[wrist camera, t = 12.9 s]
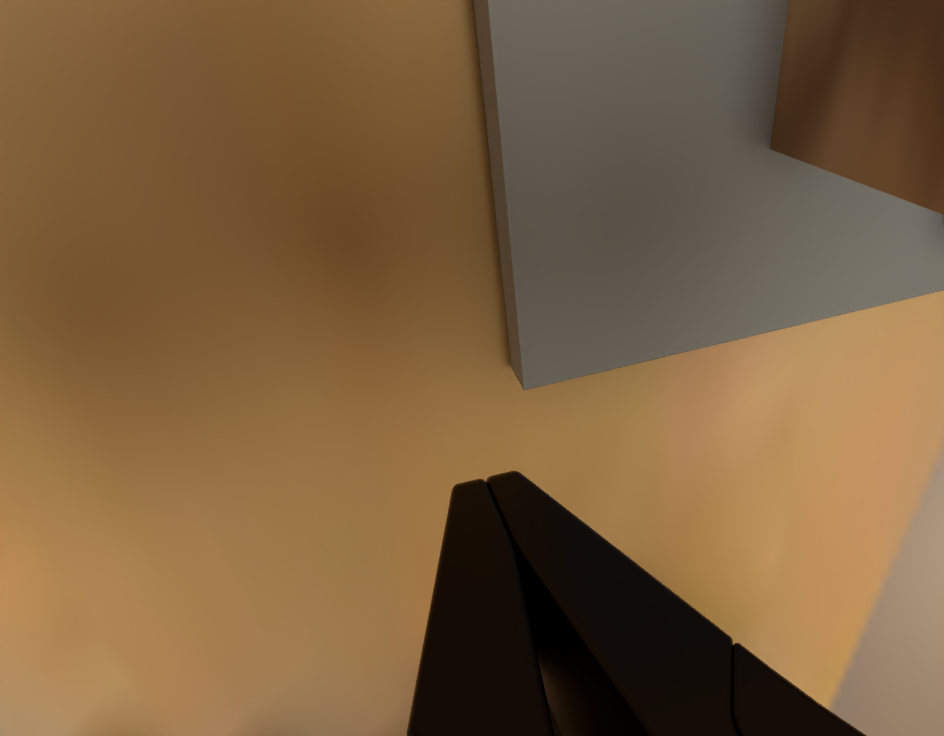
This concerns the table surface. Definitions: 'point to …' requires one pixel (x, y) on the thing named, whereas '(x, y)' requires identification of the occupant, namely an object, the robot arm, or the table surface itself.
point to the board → (668, 188)
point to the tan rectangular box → (866, 93)
